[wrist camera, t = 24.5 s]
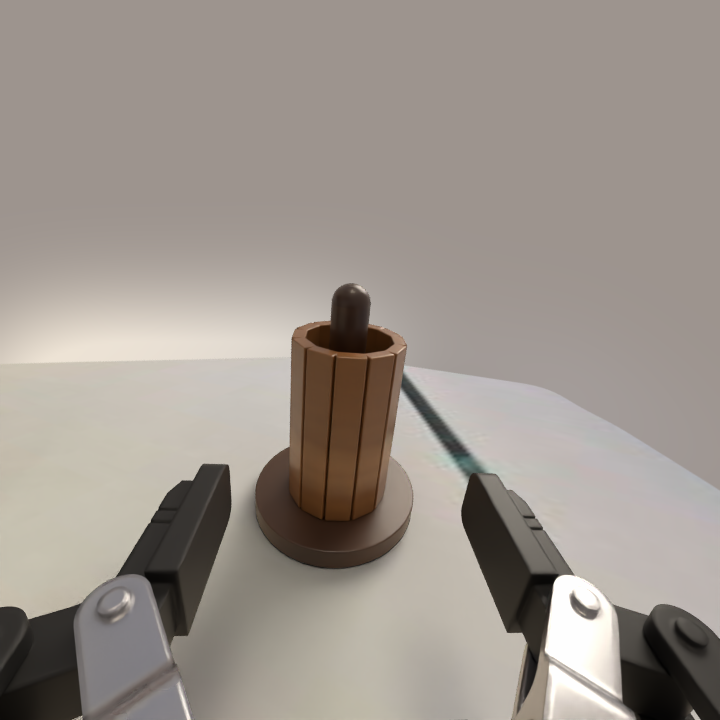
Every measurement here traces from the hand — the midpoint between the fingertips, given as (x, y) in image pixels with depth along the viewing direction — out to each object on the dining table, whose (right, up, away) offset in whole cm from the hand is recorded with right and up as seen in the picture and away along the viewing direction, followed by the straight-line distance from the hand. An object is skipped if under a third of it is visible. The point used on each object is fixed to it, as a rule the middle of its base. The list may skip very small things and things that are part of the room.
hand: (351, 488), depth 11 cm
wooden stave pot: (-1, -4, +11) cm, 11 cm away
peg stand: (-1, -5, +11) cm, 12 cm away
